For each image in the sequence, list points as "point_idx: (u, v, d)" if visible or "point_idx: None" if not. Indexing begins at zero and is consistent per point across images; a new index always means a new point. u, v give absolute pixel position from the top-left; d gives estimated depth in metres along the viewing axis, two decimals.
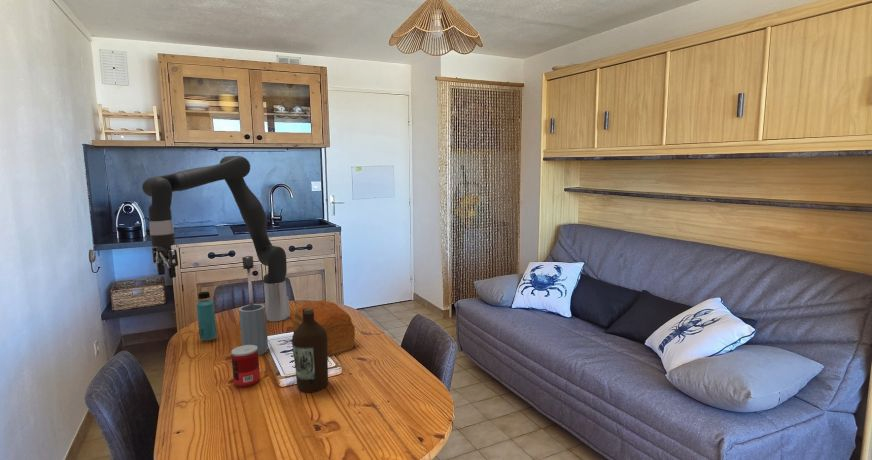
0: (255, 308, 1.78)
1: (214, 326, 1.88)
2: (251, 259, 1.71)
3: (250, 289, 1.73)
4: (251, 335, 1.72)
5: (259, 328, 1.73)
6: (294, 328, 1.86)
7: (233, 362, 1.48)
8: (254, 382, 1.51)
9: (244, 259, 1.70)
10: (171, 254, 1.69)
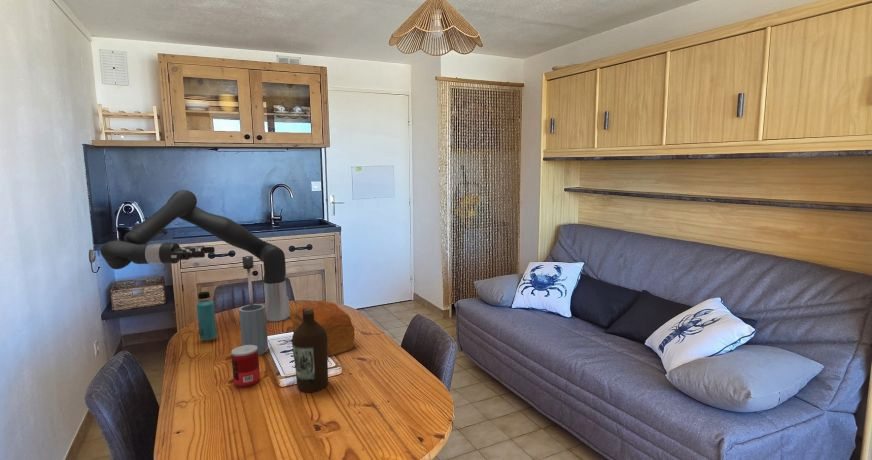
0: (255, 308, 1.78)
1: (214, 326, 1.88)
2: (251, 259, 1.71)
3: (250, 289, 1.73)
4: (251, 335, 1.72)
5: (259, 328, 1.73)
6: (294, 328, 1.85)
7: (233, 362, 1.48)
8: (254, 382, 1.51)
9: (244, 259, 1.70)
10: (175, 258, 1.64)
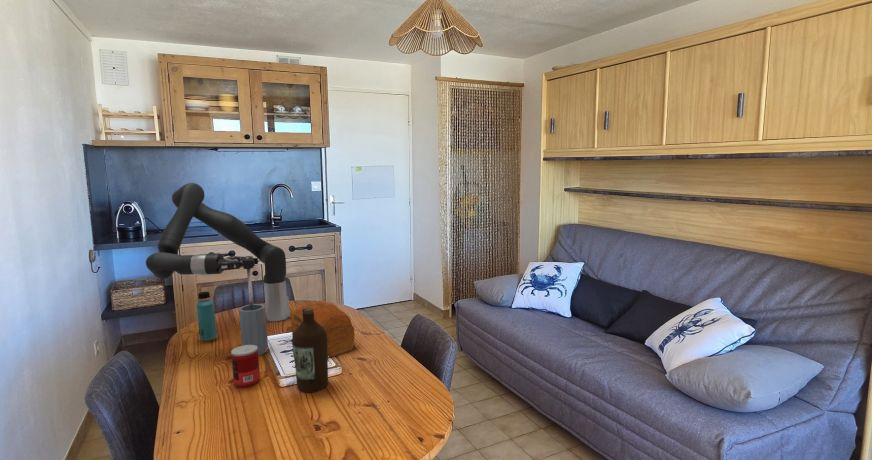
0: (255, 308, 1.78)
1: (214, 326, 1.88)
2: (251, 259, 1.71)
3: (250, 289, 1.73)
4: (251, 335, 1.72)
5: (259, 328, 1.73)
6: (293, 330, 1.84)
7: (233, 362, 1.48)
8: (254, 382, 1.51)
9: (244, 259, 1.70)
10: (226, 268, 1.66)
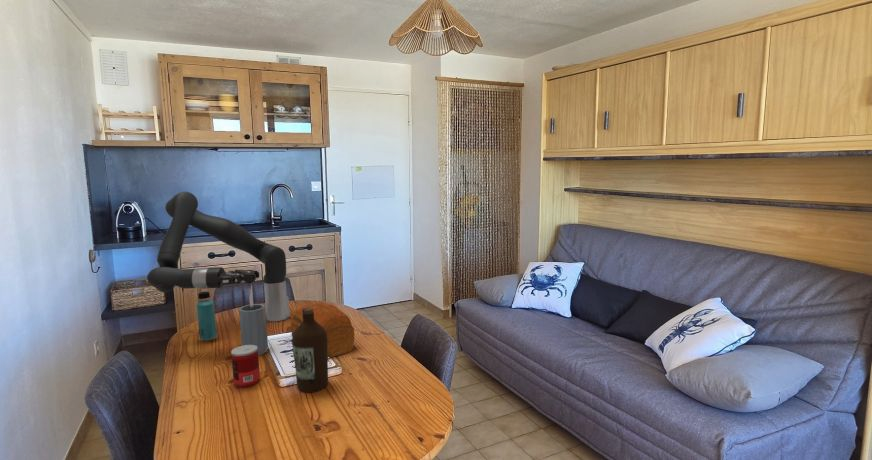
0: (255, 308, 1.78)
1: (214, 326, 1.88)
2: (252, 273, 1.72)
3: (251, 303, 1.74)
4: (251, 335, 1.72)
5: (259, 328, 1.73)
6: (292, 330, 1.83)
7: (233, 362, 1.48)
8: (254, 382, 1.51)
9: (245, 273, 1.71)
10: (227, 283, 1.67)
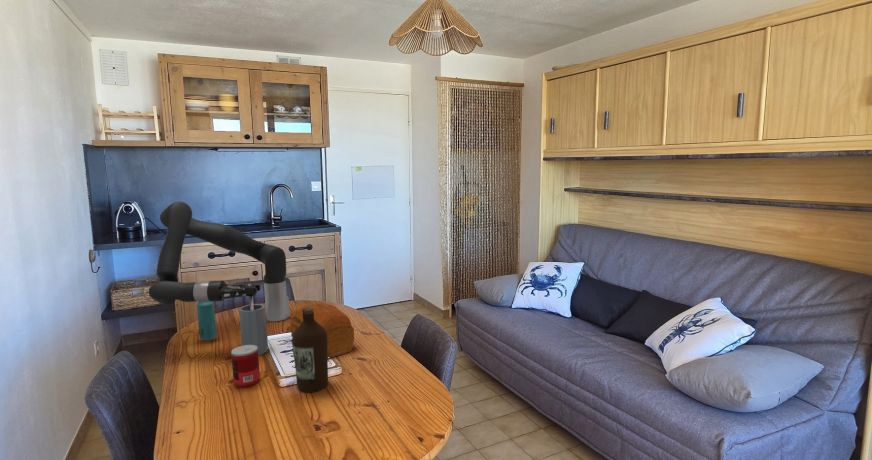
0: (255, 308, 1.78)
1: (214, 326, 1.88)
2: (253, 286, 1.73)
3: None
4: (251, 335, 1.72)
5: (259, 328, 1.73)
6: (292, 330, 1.83)
7: (233, 362, 1.48)
8: (254, 382, 1.51)
9: (246, 286, 1.72)
10: (228, 296, 1.67)
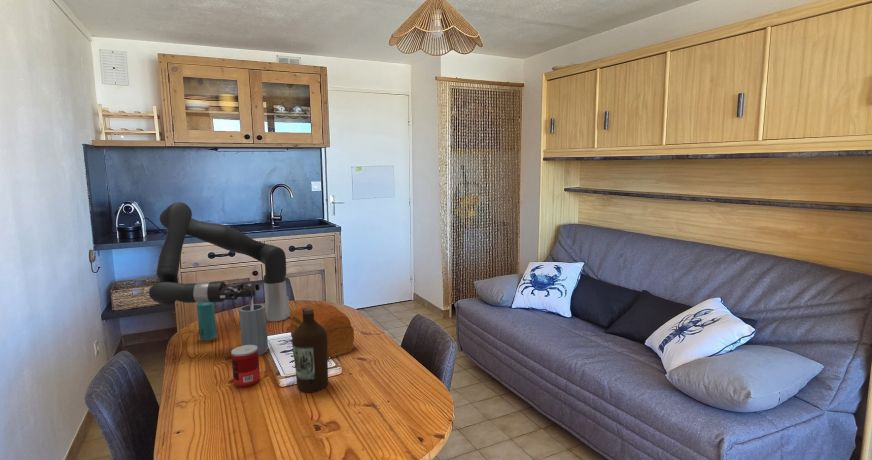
0: (255, 308, 1.78)
1: (214, 326, 1.88)
2: (253, 286, 1.73)
3: None
4: (251, 335, 1.72)
5: (259, 328, 1.73)
6: (292, 331, 1.83)
7: (233, 362, 1.48)
8: (254, 382, 1.51)
9: (246, 286, 1.72)
10: (223, 298, 1.67)
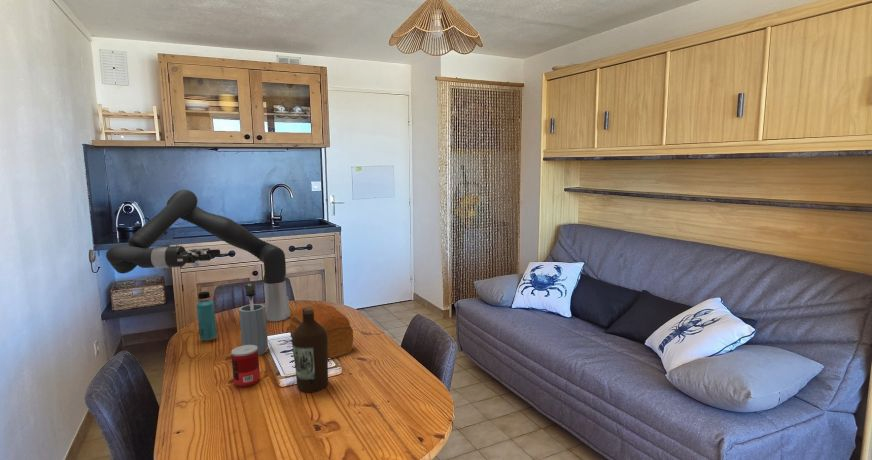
0: (255, 308, 1.78)
1: (214, 326, 1.88)
2: (253, 286, 1.73)
3: None
4: (251, 335, 1.72)
5: (259, 328, 1.73)
6: (291, 331, 1.82)
7: (233, 362, 1.48)
8: (254, 382, 1.51)
9: (246, 286, 1.72)
10: (181, 261, 1.64)
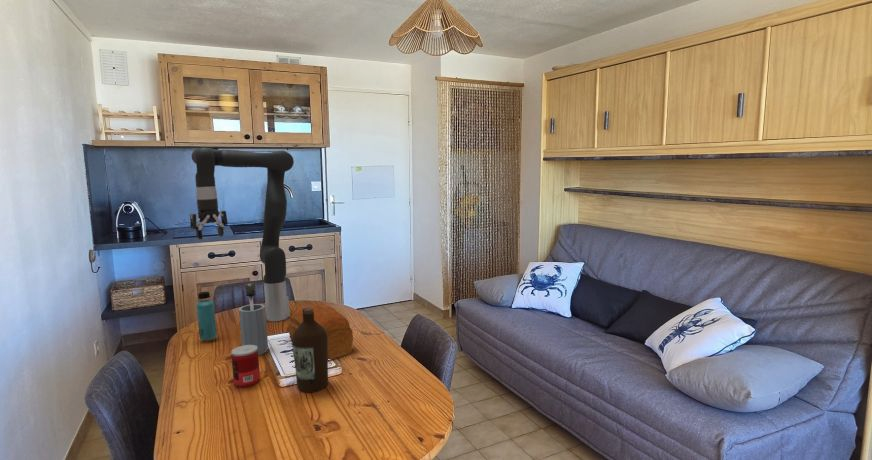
0: (255, 308, 1.78)
1: (214, 326, 1.88)
2: (253, 286, 1.73)
3: None
4: (251, 335, 1.72)
5: (259, 328, 1.73)
6: (290, 332, 1.81)
7: (233, 362, 1.48)
8: (254, 382, 1.51)
9: (246, 286, 1.72)
10: (190, 217, 1.87)
